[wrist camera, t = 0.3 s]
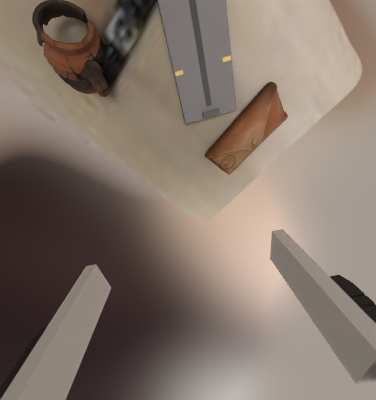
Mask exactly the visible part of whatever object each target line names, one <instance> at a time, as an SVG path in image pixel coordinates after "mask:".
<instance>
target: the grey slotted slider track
mask: <svg viewBox="0 0 376 400" xmlns="http://www.w3.org/2000/svg"><path fill="white" fill-rule="evenodd" d="M157 1H158V6H159V10H160V14H161V19H162V23H163V27H164V32H165V36H166V40H167V45H168V49H169V54H170V58H171V62H172V67H173V71H174V75H175V80H176V84H177V88H178V93H179V97H180V102H181V106H182V110H183V115H184V119H185V123H186V124H188V123H192V122H196V121H199V120H203V119H206V118H210V117H214V116H217V115H221V114H224V113H228V112H232V111H235V110H236V102H235V91H234V81H233V70H232V60H231V49H230V38H229V28H228V17H227V7H226V0H157Z"/></svg>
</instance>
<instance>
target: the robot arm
mask: <svg viewBox="0 0 376 400" xmlns="http://www.w3.org/2000/svg"><path fill="white" fill-rule="evenodd" d="M270 259H271V260H272V262H273V263H274V265H275V266H276V268H277V269H278V270H279V272H280V274H281V275H282V276H283V278H284V279H285V281H286V282H287V284H288V285H289V287H290V288H291V290H292V291H293V293H294V294H295V296H296V297H297V298H298V300H299V301H300V303H301V304H302V306H303V307H304V309H305V310H306V312H307V313H308V315H309V316H310V318H311V319H312V321H313V322H314V323H315V325H316V326H317V328H318V329H319V331H320V332H321V334H322V335H323V336H324V338H325V339H326V341H327V342H328V344H329V345H330V347H331V348H332V350H333V351H334V353H335V354H336V356H337V357H338V358H339V360H340V362H341V363H342V365H343V366H344V367H345V369H346V370H347V372H348V373H349V375H350V376H351V378H352V379H353V381H354V382H355V384H360V383H367V382H373V381H376V305H375V304H374V302H373V301H372V300H371V299H369V297H367V296H365V295H364V293H363V292H362V291H361V290H360V289H359V288H358V287H356V286H355V285H354V284H353V283H351V282H350V281H348V280H347V279H345V278H343V277H342V276H340V275H336V276H330V277H329V276H328V275H327V274H326V273H325V272H324V271H323V270H322V269H321V268H320V267H319V266H318V265H317V263H315V261H313V259H312V258H310V256H308V254H307V253H306V252H304V250H303V249H302V248H301V247H300V246H299V245H298V244H297V243H295V242H294V240H293V239H292V238H291V237H290V236H289V235H288V234H287V233H286V232H285V231H284V230H283V229H282V230H276V231H272V240H271V255H270ZM110 289H111V287H110V285H109V284H108V282H107V280H106V279H105V278H104V276H103V275H102V273H101V271H100V270H99V268H98V267H97V265H91V266H86V268H85V269H84V271H83V272H82V274H81V275H80V277H79V278H78V280H77V281H76V283H75V285H74V286H73V288H72V289H71V291H70V292H69V294H68V296H67V297H66V299H65V300H64V302H63V303H62V305H61V306H60V308H59V309H58V311H57V313H56V314H55V316H54V317H53V319H52V320H51V322H50V324H49V325H48V327H44V328H43V329H42V330H41V331H40V332H39V333H38V334H37V335H36V336H35V337H34V338H33V340H32V341H31V342H30V344H29V346H28V347H27V348H26V350H25V351H24V354H23V355H22V356H21V357H20V359H19V360H18V362H17V363H16V366H15V367H14V368H13V369H12V371H11V372H10V374H9V375H8V377H7V378H6V379H5V381H4V383H3V384H2V385H1V387H0V400H65V399H66V397H67V395H68V392H69V390H70V387H71V385H72V383H73V380H74V377H75V375H76V373H77V370H78V368H79V365H80V363H81V360H82V358H83V356H84V353H85V351H86V348H87V345H88V343H89V341H90V338H91V336H92V333H93V331H94V329H95V326H96V324H97V321H98V319H99V316H100V314H101V311H102V309H103V306H104V304H105V302H106V299H107V297H108V294H109V292H110Z"/></svg>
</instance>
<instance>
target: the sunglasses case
mask: <svg viewBox="0 0 376 400" xmlns="http://www.w3.org/2000/svg"><path fill="white" fill-rule="evenodd" d="M287 117H288V115H287V113H285V112H284V110H283V107H282V104H281V101H280V98H279V95H278V92H277V85H276V84H275V83H273V82H269V83H268V84H267V85H266V86H265V87H264V88H263V89H262V90H261V91H260V92H259V94H258V95H257V96H256V97H255V98H254V100H253V101H252V102H251V103H250V104H249V105H248V106H247V107H246V109H245V110H244V111H243V112H242V113H241V114H240V115H239V117H238V118H237V119H236V120H235V121H234V122H233V124H232V125H231V126H230V127H229V128H228V129H227V130H226V131H225V133H224V134H223V135H222V136H221V137H220V138H219V139H218V140H217V141H216V143H215V144H214V145H213V146H212V147H211V148H210V149H209V150H208V152H207V153H206V154H205V157H207V158H208V159H210V160H211V161H212V162H213V163H214V164H216V165H217V166H218V167H219V168H220V169H221V170H223V171H224V172H226V173H227V174H228V175H229V174H231V173H232V172H233V171H234V170H235V169H236V168H237V167H238V166H239V165H240V164H241V163H242V162H243V161H244V160H245V159H246V158H247V157H248V156H249V154H251V153H252V152H253V150H255V148H256V147H258V146H259V145H260V144H261V143H262V142H263V141H264V140H265V139H266V138H267V137H268V136H269V135H270V134H271V133H272V132H273V131H274V130H275V129H276V128H277V127H278V126H280V125H281V124H282V123H283V122H284V121H285V120H286V119H287Z"/></svg>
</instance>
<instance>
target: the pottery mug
mask: <svg viewBox="0 0 376 400" xmlns="http://www.w3.org/2000/svg"><path fill="white" fill-rule="evenodd" d="M62 15H64V16H66V17H72V18H76V19H79V20H81V21H83V22H84V23H86V24H87V27H88V32H87V35H86V36H85V38H84V39H83V40H82V41H81V42H78V43H72V44H66V43H61V42H58V41H55V40H53V39H51V38H50V37H49V36H48V35H46V34H45V33H44V31H43V23H44V24H45V25H46V26H47V25H48V22H49V20H51V19H52V18H55V17H60V16H62ZM32 20H33V24H34V27H35V29H36V31H37V38H38V43H39V45H40V46H42V43H43V42H44V43H45V45H44V55H45V57H46V58H47V61H48V62H49V64H50V65H51V66H52V67H53V69H54V70H55V72H56V73H57V74H58V75H59V76H60V77H61V78H62V79H63V80H64V81H65V82H66V83H68V84H69V85H70V86H71V87H72V88H74V89H75V90H77V91H79V92H83V93H95V90H96V91H97V92H98V94H99V95H100V96H101V97H106V96H107V95H108V94H109V87H108V85H107V83H106V81H105V78H104V76H103V72H102V69H101V67H100V65H98V64H97V62H96V61H94V60H89V57H90V55H91V56H93V57H94V58H95V57H96V55H97V52H98V49H99V43H100V41H101V43H102V44H104V45H105V40H104V39H103V37H102V35H101V33H100V32H99V31H98V30H97V28H96V27H95V26H94V25H93V23H92V22H90V21H89V20H87V18H86V14H85V12H84V10H83V9H81V8H80V7H78V6H77V5H75V4H73V3H70V2H68V1H64V0H48V1H44V2H42V3H40V4H39V5H38V6H37V7H36V8H35V10H34V13H33V18H32ZM76 73H77V74H81V75H82V77H83V78H82V79H81V78H80V77H79V76H78V75H77V74H76Z"/></svg>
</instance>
